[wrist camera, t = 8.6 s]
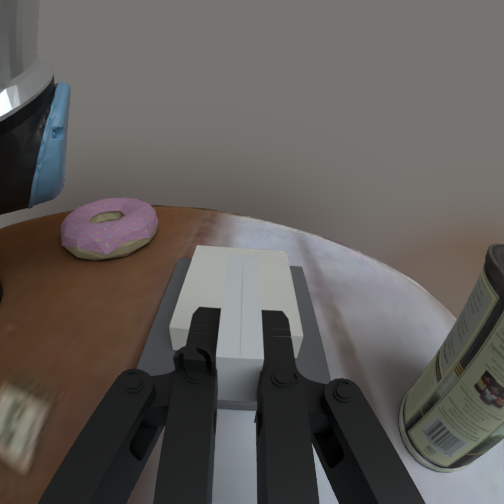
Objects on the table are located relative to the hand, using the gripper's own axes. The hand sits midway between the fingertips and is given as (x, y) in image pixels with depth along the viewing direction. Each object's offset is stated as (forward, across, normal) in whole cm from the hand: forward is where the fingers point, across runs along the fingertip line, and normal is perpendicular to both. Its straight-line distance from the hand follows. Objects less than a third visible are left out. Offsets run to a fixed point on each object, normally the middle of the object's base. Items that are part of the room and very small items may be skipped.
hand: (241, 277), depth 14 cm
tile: (+2, 0, -8) cm, 8 cm away
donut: (+22, -20, -11) cm, 32 cm away
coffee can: (-6, +18, -10) cm, 21 cm away
